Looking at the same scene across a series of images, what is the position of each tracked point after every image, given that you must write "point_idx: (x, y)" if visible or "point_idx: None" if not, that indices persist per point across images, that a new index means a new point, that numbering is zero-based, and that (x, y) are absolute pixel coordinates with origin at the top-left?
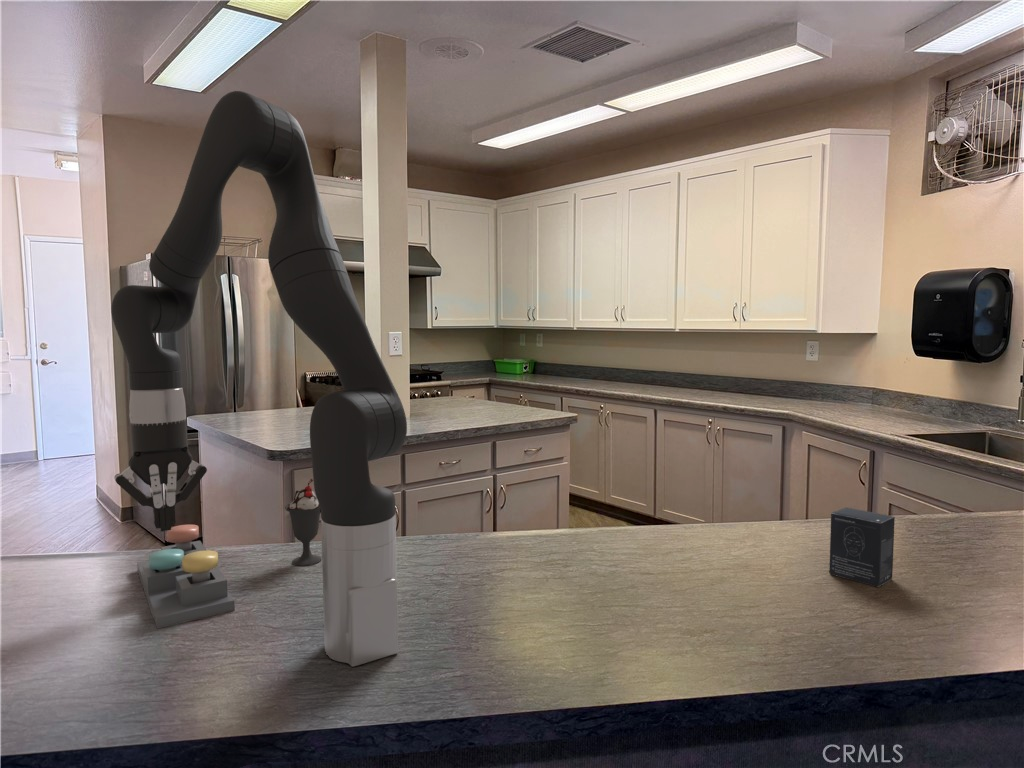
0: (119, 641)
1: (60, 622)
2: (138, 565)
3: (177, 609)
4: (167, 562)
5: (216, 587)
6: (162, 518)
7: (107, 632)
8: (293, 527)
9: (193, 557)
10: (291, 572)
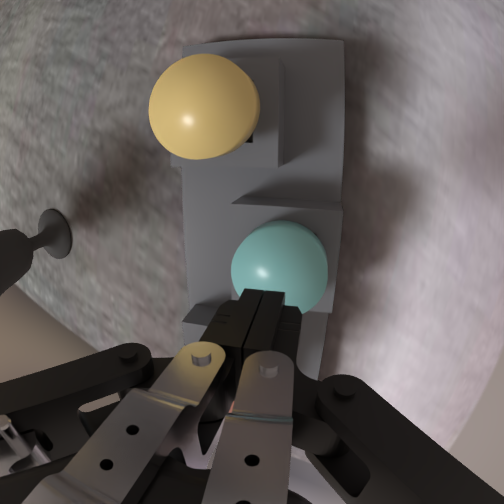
0: (409, 40)
1: (483, 216)
2: None
3: (297, 57)
4: (285, 225)
5: None
6: (267, 316)
7: (427, 97)
8: (17, 256)
9: (217, 100)
10: (76, 194)
